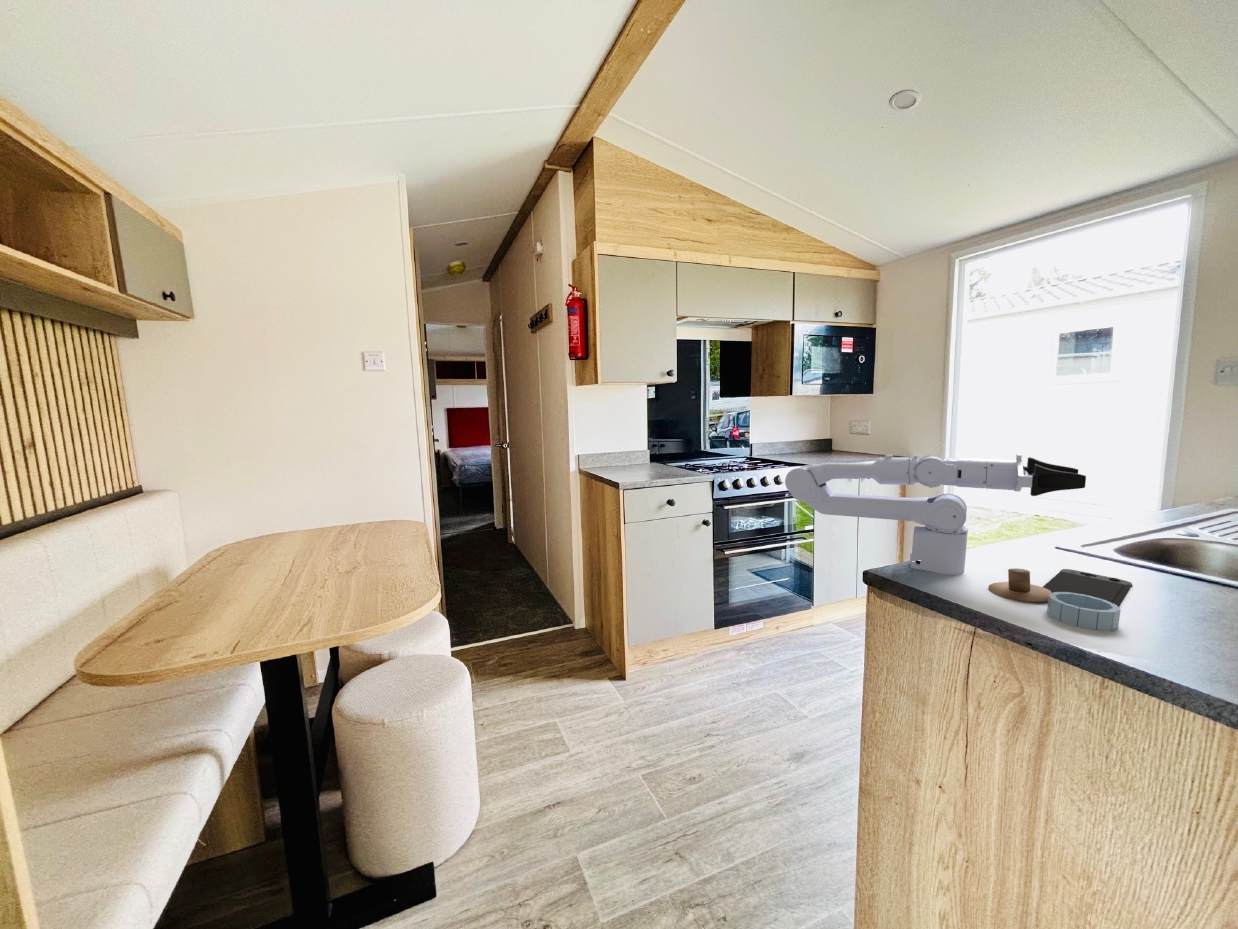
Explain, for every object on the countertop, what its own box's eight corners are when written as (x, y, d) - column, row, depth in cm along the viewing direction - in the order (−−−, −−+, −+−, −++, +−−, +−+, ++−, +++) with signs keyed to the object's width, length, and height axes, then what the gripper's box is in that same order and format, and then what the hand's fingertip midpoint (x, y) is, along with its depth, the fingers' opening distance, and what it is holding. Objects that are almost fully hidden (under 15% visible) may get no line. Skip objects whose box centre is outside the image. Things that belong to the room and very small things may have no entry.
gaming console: (1063, 566, 101) (1134, 580, 94) (1063, 572, 101) (1133, 587, 94) (1032, 593, 86) (1113, 612, 78) (1032, 600, 86) (1112, 620, 79)
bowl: (1051, 626, 77) (1053, 604, 77) (1043, 608, 84) (1045, 588, 83) (1123, 639, 73) (1126, 616, 72) (1109, 620, 79) (1111, 599, 79)
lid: (990, 598, 87) (989, 575, 87) (987, 583, 95) (986, 562, 94) (1056, 604, 82) (1056, 580, 82) (1047, 588, 90) (1047, 566, 89)
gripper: (988, 457, 90) (1091, 461, 82) (986, 449, 102) (1076, 451, 94) (986, 496, 91) (1087, 503, 83) (984, 483, 103) (1073, 488, 95)
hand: (1081, 478), depth 88 cm, fingers open, 7 cm apart
